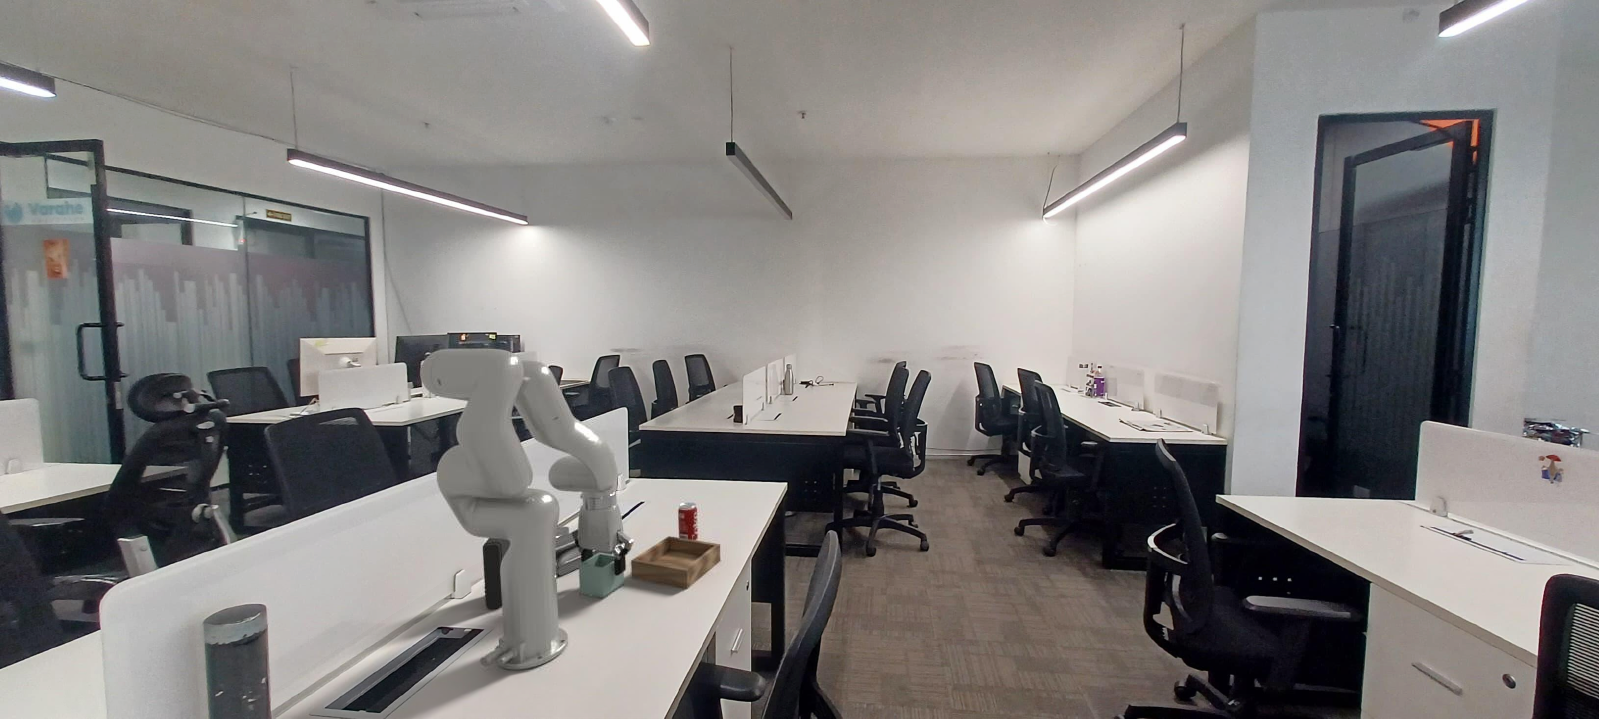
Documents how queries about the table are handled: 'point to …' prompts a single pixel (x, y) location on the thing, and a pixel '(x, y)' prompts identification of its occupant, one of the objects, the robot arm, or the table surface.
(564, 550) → the emblem
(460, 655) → the table surface
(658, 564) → the walnut crate
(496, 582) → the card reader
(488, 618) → the table surface
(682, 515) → the soda can
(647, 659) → the table surface
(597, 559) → the small crate
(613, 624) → the table surface
